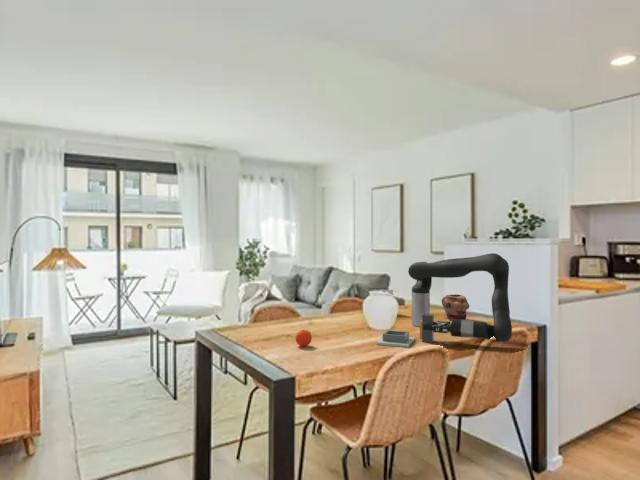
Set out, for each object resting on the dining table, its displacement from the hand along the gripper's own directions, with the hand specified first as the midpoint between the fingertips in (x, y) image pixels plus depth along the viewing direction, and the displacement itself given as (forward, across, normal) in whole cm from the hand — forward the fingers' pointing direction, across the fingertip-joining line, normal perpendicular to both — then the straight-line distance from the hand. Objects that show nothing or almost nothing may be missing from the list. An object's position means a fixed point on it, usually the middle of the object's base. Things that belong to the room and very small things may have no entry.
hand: (425, 325), depth 206 cm
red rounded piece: (+47, +29, +7) cm, 55 cm away
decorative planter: (-7, -58, +7) cm, 59 cm away
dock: (+12, +7, +7) cm, 15 cm away
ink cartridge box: (+33, -60, +7) cm, 69 cm away
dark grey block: (-1, 0, +7) cm, 7 cm away
